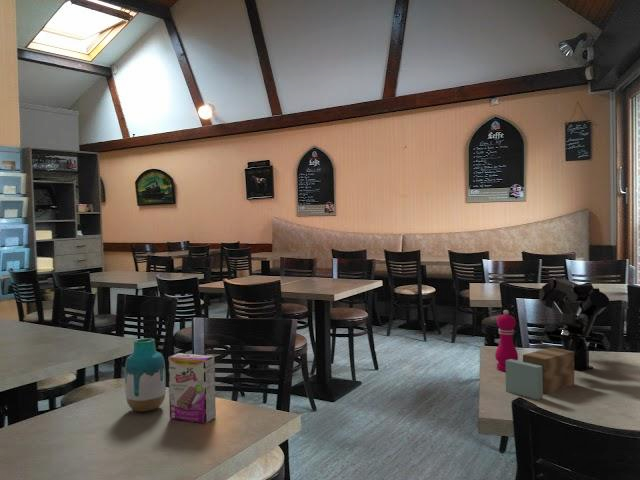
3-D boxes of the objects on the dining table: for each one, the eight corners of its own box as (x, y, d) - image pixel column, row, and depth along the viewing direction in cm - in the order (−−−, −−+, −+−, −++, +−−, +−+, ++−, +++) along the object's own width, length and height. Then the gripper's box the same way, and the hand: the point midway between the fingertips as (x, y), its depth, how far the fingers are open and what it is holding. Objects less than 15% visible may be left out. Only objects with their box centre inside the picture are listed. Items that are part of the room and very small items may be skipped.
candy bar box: (168, 420, 133) (166, 357, 132) (180, 413, 138) (178, 352, 137) (206, 424, 129) (204, 359, 129) (216, 417, 134) (215, 354, 134)
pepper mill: (520, 372, 168) (519, 311, 168) (496, 372, 170) (496, 311, 169) (516, 366, 175) (515, 308, 175) (493, 366, 177) (493, 308, 176)
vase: (174, 405, 144) (172, 337, 143) (147, 419, 134) (145, 345, 133) (145, 401, 148) (143, 334, 148) (116, 413, 138) (114, 342, 138)
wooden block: (552, 379, 161) (552, 347, 161) (574, 384, 155) (574, 351, 155) (523, 388, 153) (522, 354, 153) (544, 394, 147) (544, 359, 147)
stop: (511, 389, 152) (510, 358, 152) (542, 398, 144) (542, 366, 143) (505, 391, 150) (505, 360, 150) (537, 400, 142) (537, 367, 142)
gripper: (546, 300, 169) (527, 339, 163) (605, 307, 154) (587, 349, 148) (558, 321, 174) (541, 359, 168) (617, 329, 159) (600, 372, 153)
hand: (565, 359), depth 159 cm, fingers closed
